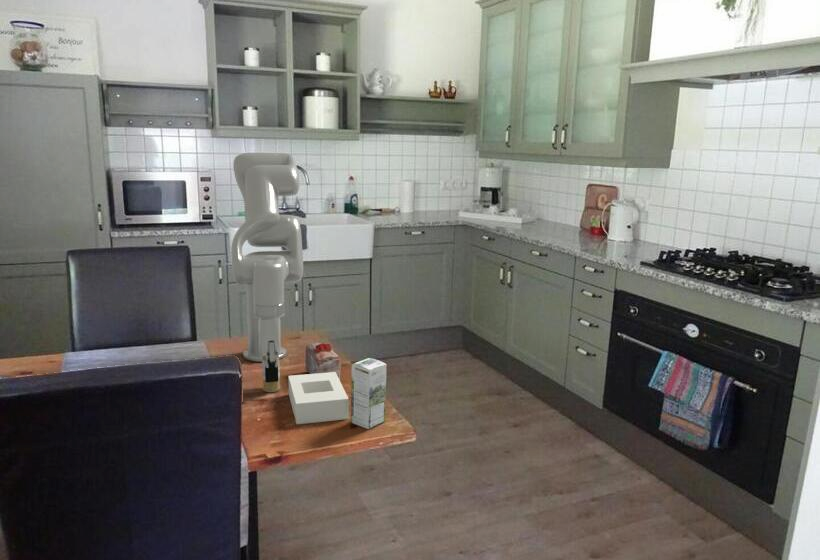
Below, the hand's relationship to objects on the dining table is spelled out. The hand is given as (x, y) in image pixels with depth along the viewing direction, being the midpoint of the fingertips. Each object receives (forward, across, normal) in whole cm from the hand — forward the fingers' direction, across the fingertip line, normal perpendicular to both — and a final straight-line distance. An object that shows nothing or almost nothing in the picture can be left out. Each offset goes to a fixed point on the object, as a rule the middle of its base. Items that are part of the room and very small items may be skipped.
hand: (271, 377), depth 158 cm
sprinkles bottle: (+4, 0, 0) cm, 4 cm away
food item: (+4, -5, +14) cm, 15 cm away
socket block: (+3, +13, +10) cm, 17 cm away
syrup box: (+3, +25, +20) cm, 32 cm away
